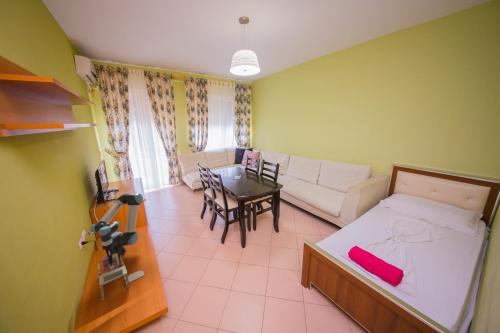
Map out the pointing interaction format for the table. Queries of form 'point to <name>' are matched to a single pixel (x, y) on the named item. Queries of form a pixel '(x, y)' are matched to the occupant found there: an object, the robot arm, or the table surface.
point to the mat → (135, 276)
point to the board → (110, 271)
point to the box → (106, 261)
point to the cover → (112, 275)
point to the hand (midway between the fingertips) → (111, 265)
